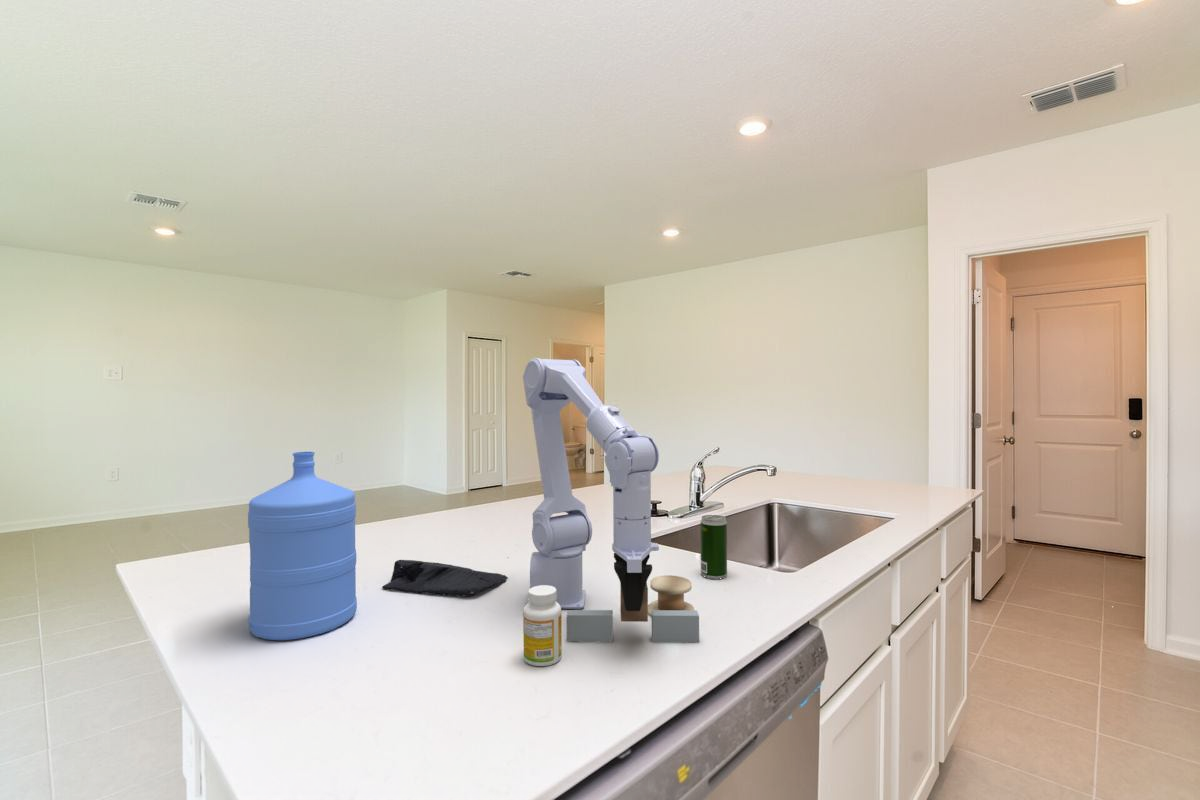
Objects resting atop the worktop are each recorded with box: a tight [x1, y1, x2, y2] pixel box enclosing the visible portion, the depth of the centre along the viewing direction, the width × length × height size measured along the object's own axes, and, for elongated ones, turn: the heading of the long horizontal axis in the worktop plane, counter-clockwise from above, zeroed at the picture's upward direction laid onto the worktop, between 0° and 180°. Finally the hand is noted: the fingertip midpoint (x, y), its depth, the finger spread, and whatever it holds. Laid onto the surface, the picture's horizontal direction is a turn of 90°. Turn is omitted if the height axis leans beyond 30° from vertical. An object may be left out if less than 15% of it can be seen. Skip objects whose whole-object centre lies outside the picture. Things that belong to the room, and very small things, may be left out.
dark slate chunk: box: [381, 559, 509, 597], centre depth 107 cm, size 15×22×5 cm
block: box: [619, 582, 649, 623], centre depth 82 cm, size 4×4×5 cm
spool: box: [648, 574, 696, 618], centre depth 92 cm, size 8×8×5 cm
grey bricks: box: [566, 609, 700, 643], centre depth 82 cm, size 20×2×4 cm, turn 89°
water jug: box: [247, 451, 358, 641], centre depth 89 cm, size 16×16×28 cm
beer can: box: [700, 514, 728, 580], centre depth 111 cm, size 5×5×12 cm
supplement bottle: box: [522, 585, 563, 667], centre depth 76 cm, size 5×5×10 cm
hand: (632, 604), depth 82 cm, fingers closed on block, 3 cm apart
